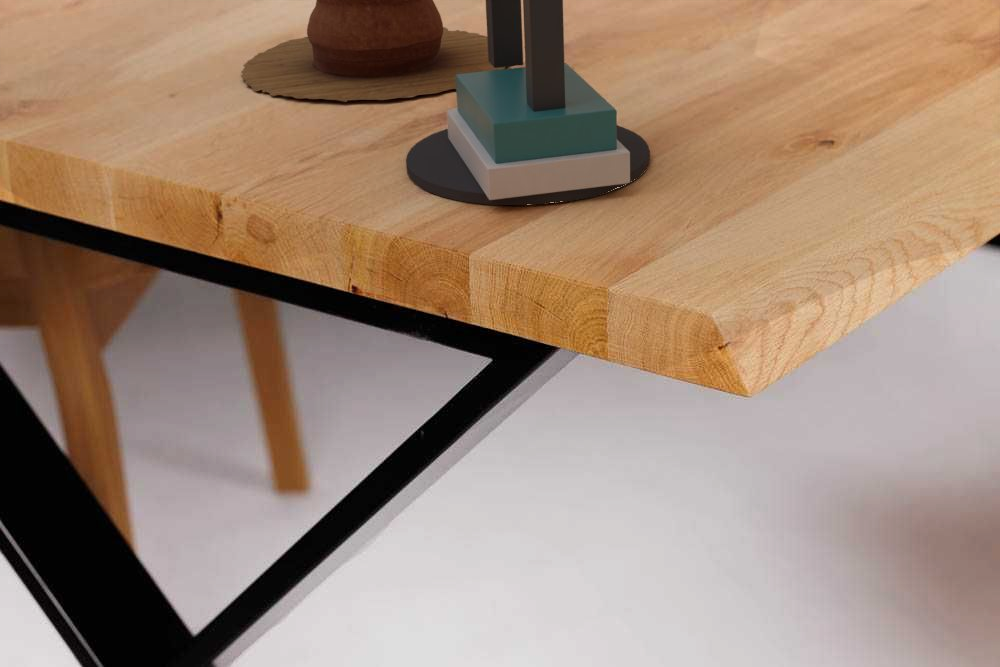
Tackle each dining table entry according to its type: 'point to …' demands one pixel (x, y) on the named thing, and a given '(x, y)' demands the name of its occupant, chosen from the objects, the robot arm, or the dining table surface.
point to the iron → (533, 112)
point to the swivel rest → (451, 178)
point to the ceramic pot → (369, 53)
